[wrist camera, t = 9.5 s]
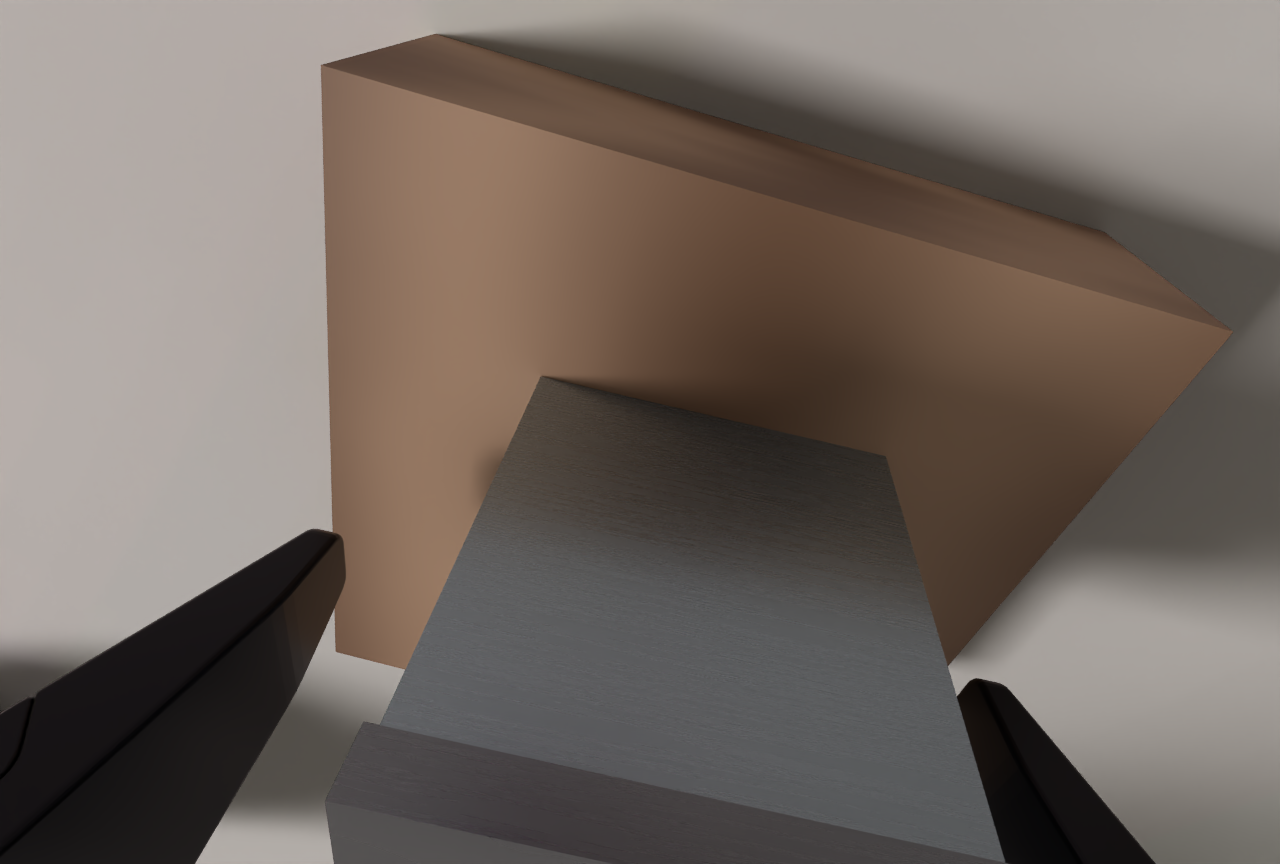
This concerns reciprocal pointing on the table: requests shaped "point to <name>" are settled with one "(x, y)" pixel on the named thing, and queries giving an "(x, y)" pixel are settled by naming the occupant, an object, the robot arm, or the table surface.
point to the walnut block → (704, 319)
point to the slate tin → (672, 663)
